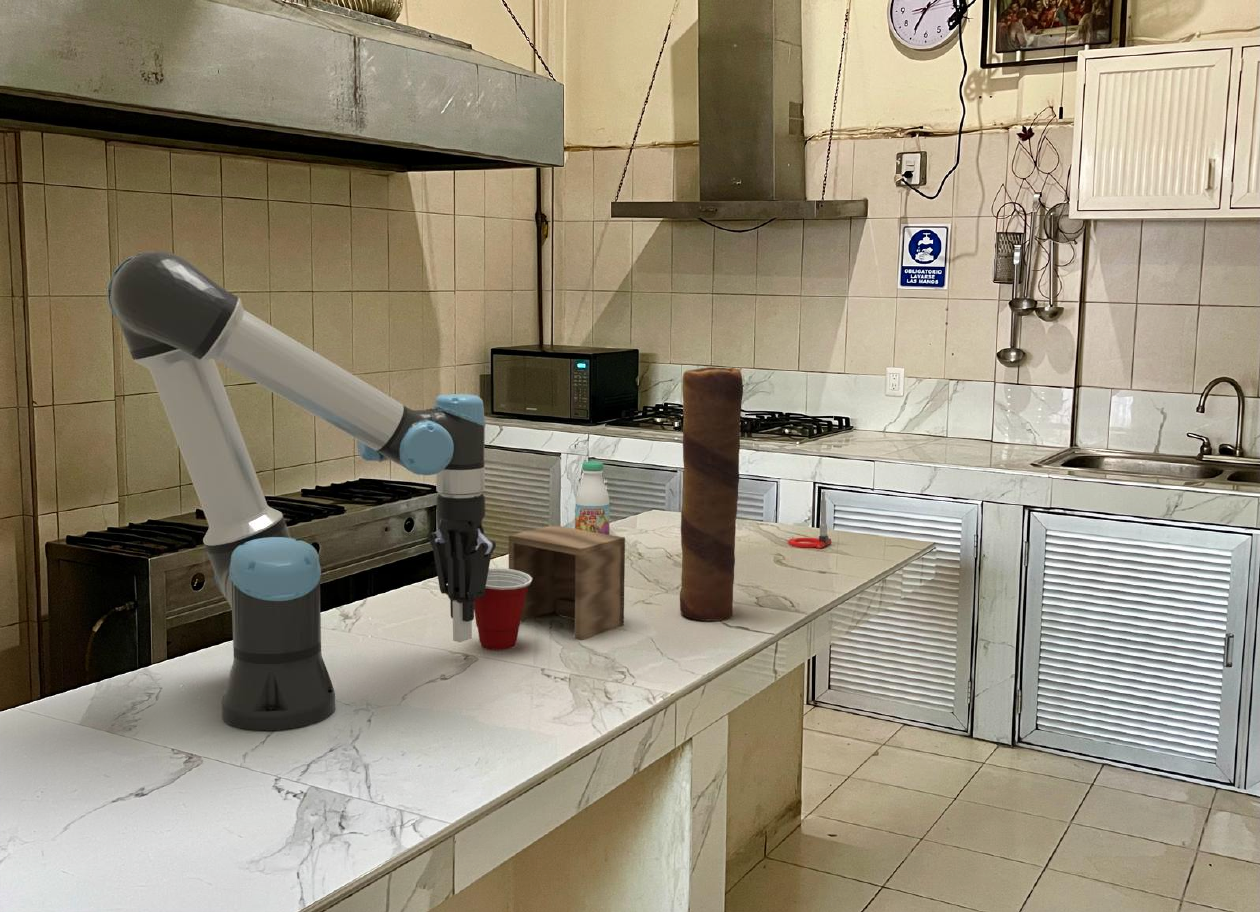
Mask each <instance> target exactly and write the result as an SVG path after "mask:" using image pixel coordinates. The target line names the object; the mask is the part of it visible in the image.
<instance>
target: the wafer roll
mask: <svg viewBox="0 0 1260 912" xmlns="http://www.w3.org/2000/svg"><path fill="white" fill-rule="evenodd" d="M682 375H683V376H682V380H681V381H682V383H681V385H682V386H681V391H682V413H683V422H682V460H683V474H682V493H681V494H682V497H681V499H682V502H681V512H680V518H681V519H680V537H681V538H680V542H681V544H680V545H681V552H682V553H681V555H682V557H681V576H680V577H681V578H680V579H681V587H680V592H679V611H680V613H681V614H682V616H684V617H687V618H688V619H689V618H690V619H694V620H699V621H722V620H728V619H730V618H732V616H733V615H734V613H733V612H734V611H733V610H734V609H733V608H734V607H733V601H734V582H735V564H736V556H735V550H736V549H735V546H736V533H737V532H736V531H737V529H736V520H737V514H738V501H739V484H740V450H741V440H740V431H741V415H742V401H743V396H744V385H743V383H744V382H743V376H742V372H741V370H740V369H739V368H736V367H729V368H726V367H710V366H708V367H702V368H695V369H688V370H685V371H684V372H683V374H682Z"/></svg>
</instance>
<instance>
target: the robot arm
mask: <svg viewBox="0 0 1260 912" xmlns="http://www.w3.org/2000/svg"><path fill="white" fill-rule="evenodd" d="M107 300H108V305H109V307H110V310H111V313H112V315H113V316H114V318H116V319H117V321H118V324H119V326H120V329H121V332H122V336H123V337H124V339H125V342H126V345H127V347H128V351H129V352H130V355H131V358H132V360H133V362H134V363H136V364H138V365H140V366H143V367H144V368H146V369H148V371H149V372H150V374H151V377H152V380H153V382H154V385H155V388H156V391H157V394H158V395H159V398H160V401H161V404H162V406H163V409H164V412H165V415H166V417H167V419H168V422H169V425H170V427H171V430H172V432H173V435H174V438H175V441H176V443H177V446H178V448H179V451H180V453H181V455H182V458H183V462H184V464H185V467H186V469H187V472H188V474H189V477H190V480H191V482H192V485H193V488H194V490H195V492H196V495H197V497H198V501H199V503H200V506H201V508H202V511H203V513H204V517H205V519H206V521H207V524H208V530H207V531H206V533H205V535H204V537H203V539H202V541H203V545H204V547H205V549H206V552H207V556H208V558H209V560H210V563H211V566H212V568H213V571H214V580H215V583H216V586H217V587H218V589H219V591H220V593H221V594H222V596H223V597H224V598H225V600H226V601H227V603H228V605H229V606H230V609H231V614H232V615H231V617H232V623H231V624H232V647H233V650H232V651H233V662H232V666H231V669H230V672H229V676H228V679H227V682H226V687H225V690H224V694H223V696H222V699H221V717H222V720H223V722H225V723H227V724H228V725H230V726H232V727H236V728H240V729H245V730H252V731H280V730H288V729H289V730H290V729H295V728H302V727H304V726H309V725H311V724H315V723H317V722H320V721H322V720H324V719H327V718H328V717H329V716H331V715H332V714H333V713H334V712H335V710H336V692H335V687H334V686H333V683H332V680H331V677H330V674H329V672H328V669H327V667H326V664H325V661H324V658H323V654H322V627H321V626H322V622H321V621H322V620H321V619H322V617H321V616H322V615H321V575H322V569H321V568H322V567H321V565H320V559H319V558H320V557H319V553H318V551H317V549H316V548H315V547H314V546H313V545H312V544H311V543H308V542H306V541H304V540H297V539H295V538H292V537H291V534H290V532H289V528H288V526H287V523H286V520H285V518H284V515H283V513H282V512H281V511H279V510H277V509H276V508H275V509H274V507H273V508H272V507H270V506H269V505H268V503H267V500H266V498H265V495H264V492H263V489H262V486H261V484H260V481H259V478H258V475H257V473H256V470H255V467H254V464H253V462H252V459H251V456H250V453H249V451H248V448H247V445H246V443H245V439H244V437H243V435H242V431H241V429H240V427H239V424H238V421H237V418H236V416H235V413H234V410H233V408H232V404H231V402H230V399H229V397H228V394H227V393H228V392H227V390H226V388H225V385H224V383H223V380H222V377H221V374H220V372H219V368H218V367H217V364H216V362H219V363H220V364H222V365H224V366H225V367H228V368H229V369H231V370H233V371H235V372H236V373H238V374H240V376H243V377H245V378H247V379H248V380H250V381H252V382H254V383H256V384H258V385H259V386H261V387H263V388H265V389H266V390H268V391H270V392H272V393H273V394H275V395H276V396H279V397H281V398H282V399H285V400H286V401H288V402H289V403H291V404H293V405H295V406H296V407H298V408H300V409H302V411H303V410H304V411H305V412H307V413H308V414H310V415H313V416H314V417H316V418H318V419H319V420H321V421H323V422H324V423H326V424H328V425H330V426H332V427H334V428H335V429H336V430H338V431H340V432H343V433H344V434H346V435H348V436H349V437H351V438H353V439H355V440H356V445H357V450H358V453H359V456H360V458H361V459H362V460H364V461H366V462H378V463H382V462H386V461H392V462H394V463H395V464H398V465H399V466H401V467H403V468H405V469H406V470H407V471H410V473H413V474H415V475H418V476H419V475H420V476H421V475H422V476H433V475H436V477H435V478H436V479H435V480H436V481H435V483H436V484H435V486H436V492H438V493H439V494H438V496H436V516H437V519H439V520H440V522H439V525H438V529H437V530H436V531H435V532H430V533H428V535H427V538H428V541H429V543H430V546H431V548H432V551H433V558H434V562H435V563H434V564H435V569H436V575H437V580H438V585H439V592H440V593H441V594H442V595H446V596H447V597H448V599H449V600H450V602H449V603H450V618H451V619H452V641H453V642H456V643H462V642H465V641H469V640H471V639H472V640H473V626H472V625H473V624H472V622H473V621H474V619H475V612H474V600H475V599H478V598H481V597H483V596H484V593H485V587H486V582H487V576H488V570H489V568H490V563H491V558H492V554H493V552H494V551H495V548H496V546H497V545H496V544H497V543H496V541H494V540H490V541H489V539H488V538H487V537H486V536H485V529H484V527H483V519H484V518H485V516H486V496H485V495H484V494H483V492H484V491H486V490H485V489H486V487H485V486H486V485H485V484H486V483H485V482H486V480H485V479H486V478H485V477H486V475H485V471H486V470H485V468H486V466H485V442H486V441H485V440H486V438H485V437H486V436H485V434H486V433H485V432H486V431H485V429H486V428H485V427H486V422H485V421H486V420H485V408H484V401H483V399H482V398H481V397H480V396H478V395H475V394H467V393H459V394H458V393H457V394H456V393H455V394H454V393H452V394H440V395H438V396H436V398H435V403H434V406H433V407H431V408H428V409H427V408H426V409H411V408H409V407H407V406H406V405H404V404H403V403H401V402H399V401H398V400H396V399H394V398H393V397H391V396H389V395H387V394H386V393H384V392H382V391H380V390H379V389H377V388H376V387H374V386H372V385H371V384H369V383H367V382H366V381H364V380H362V379H361V378H359V377H357V376H356V375H354V374H352V373H351V372H349V371H348V370H346V369H344V368H343V367H341V366H339V365H338V364H336V363H334V362H332V361H330V360H329V359H327V358H326V357H324V356H322V355H320V354H319V353H318V352H316V351H314V350H312V349H310V348H308V347H307V346H305V345H304V344H303V343H300V342H299V341H297V340H296V339H294V338H292V337H290V336H288V335H287V334H286V333H284V332H282V331H281V330H279V329H277V328H275V327H274V326H272V325H271V324H269V323H268V322H265V321H264V320H262V319H261V318H258V317H257V316H255V315H253V314H252V313H250V312H248V311H247V310H245V309H244V307H243V303H242V299H241V298H240V297H238V296H237V295H235V294H233V293H232V292H230V291H229V290H227V289H226V288H224V287H222V286H221V285H219V284H218V283H217V282H216V281H214V280H213V279H211V278H210V277H209V276H207V275H206V274H205V273H204V272H202V271H201V270H200V269H199V268H198V267H196V265H194V264H192V263H191V262H190V261H189V260H188V259H186V258H184V257H182V256H180V255H178V254H177V253H176V254H175V253H172V252H168V251H159V250H158V251H156V250H154V251H148V252H142V253H141V252H139V253H138V254H136V255H132V256H129V257H128V258H127V259H125V260H124V261H122V262H121V263H120V264H119V265H118V266H117V268H116V269H115V270H114V271H113V273H112V275H111V278H110V280H109V283H108V289H107Z"/></svg>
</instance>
